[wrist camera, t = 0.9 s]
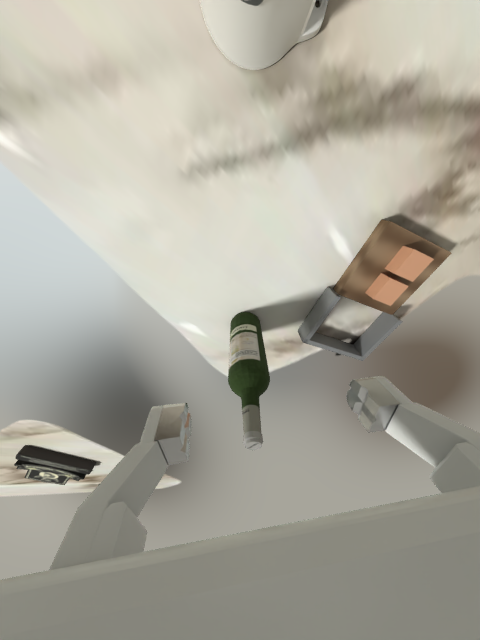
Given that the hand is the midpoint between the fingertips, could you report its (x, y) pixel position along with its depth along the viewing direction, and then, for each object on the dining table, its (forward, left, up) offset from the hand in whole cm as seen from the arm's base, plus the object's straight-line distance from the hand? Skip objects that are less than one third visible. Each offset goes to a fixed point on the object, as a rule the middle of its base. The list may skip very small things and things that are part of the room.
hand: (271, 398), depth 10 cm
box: (+10, +32, -37) cm, 50 cm away
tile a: (-8, +32, -34) cm, 47 cm away
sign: (+135, -50, -38) cm, 148 cm away
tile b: (-2, +32, -34) cm, 47 cm away
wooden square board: (-5, +32, -37) cm, 49 cm away
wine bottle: (+20, +8, -37) cm, 43 cm away
